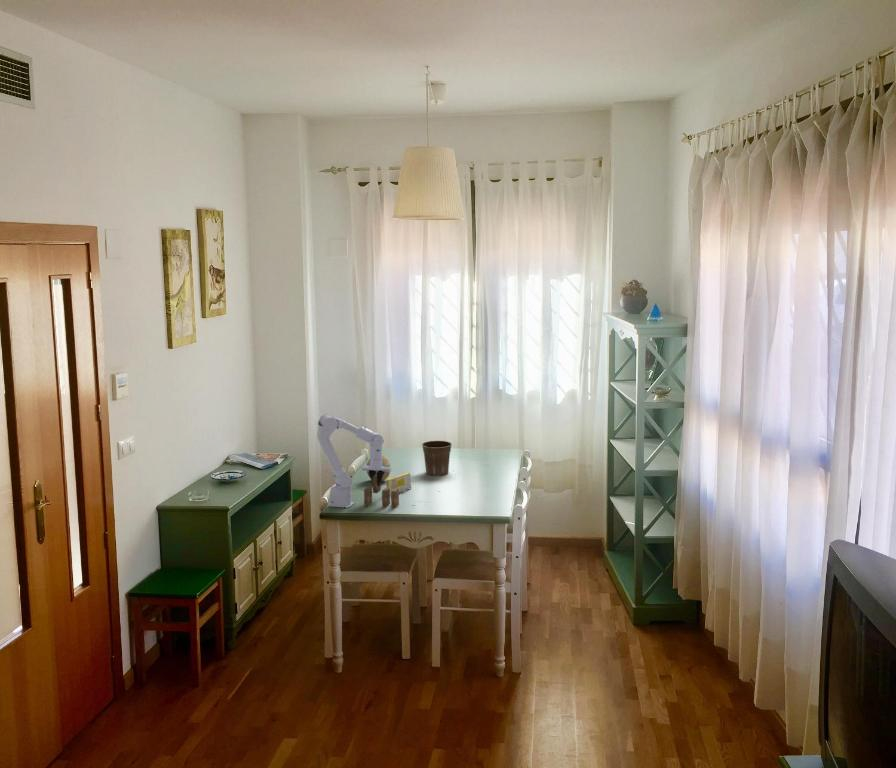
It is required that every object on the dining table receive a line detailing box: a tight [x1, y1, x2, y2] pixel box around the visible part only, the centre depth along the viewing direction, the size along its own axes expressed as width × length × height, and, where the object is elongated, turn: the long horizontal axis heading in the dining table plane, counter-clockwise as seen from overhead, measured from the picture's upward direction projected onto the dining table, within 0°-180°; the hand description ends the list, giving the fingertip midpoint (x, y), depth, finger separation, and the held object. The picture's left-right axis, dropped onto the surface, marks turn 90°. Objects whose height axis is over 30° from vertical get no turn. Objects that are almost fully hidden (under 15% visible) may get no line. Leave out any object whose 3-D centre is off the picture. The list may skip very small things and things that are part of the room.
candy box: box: [385, 472, 412, 496], centre depth 429 cm, size 16×2×8 cm, turn 141°
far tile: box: [390, 488, 400, 509], centre depth 404 cm, size 2×5×8 cm, turn 164°
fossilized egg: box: [366, 453, 392, 482], centre depth 449 cm, size 13×13×15 cm
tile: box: [372, 474, 382, 494], centre depth 413 cm, size 2×5×8 cm, turn 163°
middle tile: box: [381, 487, 391, 508], centre depth 406 cm, size 2×5×8 cm, turn 164°
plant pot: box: [421, 440, 453, 477], centre depth 464 cm, size 16×16×16 cm
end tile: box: [363, 486, 373, 507], centre depth 408 cm, size 2×5×8 cm, turn 164°
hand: (376, 485), depth 414 cm, fingers closed on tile, 2 cm apart
